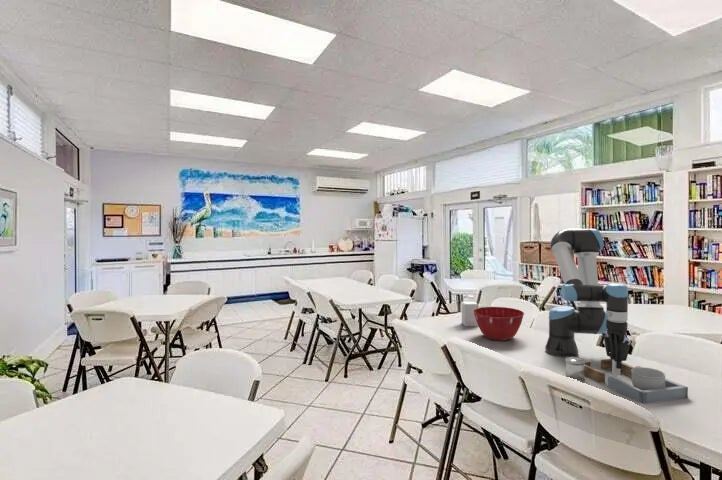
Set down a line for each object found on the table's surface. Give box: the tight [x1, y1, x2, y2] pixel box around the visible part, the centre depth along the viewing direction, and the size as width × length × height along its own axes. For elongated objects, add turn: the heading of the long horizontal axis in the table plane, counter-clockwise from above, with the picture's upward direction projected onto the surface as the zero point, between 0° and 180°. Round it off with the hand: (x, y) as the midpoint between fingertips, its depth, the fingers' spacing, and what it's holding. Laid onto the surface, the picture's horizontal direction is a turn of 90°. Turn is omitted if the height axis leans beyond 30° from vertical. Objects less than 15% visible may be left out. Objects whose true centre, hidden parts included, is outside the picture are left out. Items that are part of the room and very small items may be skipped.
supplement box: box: [461, 301, 479, 327], centre depth 257 cm, size 9×9×15 cm
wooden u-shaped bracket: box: [584, 358, 636, 384], centre depth 168 cm, size 14×19×4 cm
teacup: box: [631, 365, 666, 391], centre depth 151 cm, size 14×11×8 cm
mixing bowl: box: [473, 306, 525, 341], centre depth 227 cm, size 28×28×15 cm
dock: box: [607, 376, 689, 404], centre depth 150 cm, size 16×20×4 cm
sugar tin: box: [564, 356, 586, 382], centre depth 165 cm, size 7×7×8 cm
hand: (616, 374), depth 164 cm, fingers closed
